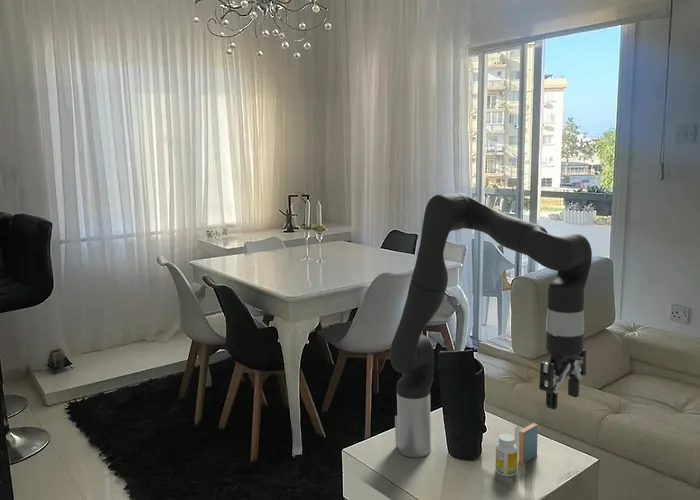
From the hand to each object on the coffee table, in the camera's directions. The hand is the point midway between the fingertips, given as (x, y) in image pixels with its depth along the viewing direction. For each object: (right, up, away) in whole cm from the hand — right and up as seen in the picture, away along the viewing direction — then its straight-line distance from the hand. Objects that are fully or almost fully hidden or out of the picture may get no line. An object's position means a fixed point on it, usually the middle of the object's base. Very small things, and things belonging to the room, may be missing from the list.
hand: (562, 401), depth 124 cm
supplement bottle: (-5, -25, +27) cm, 37 cm away
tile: (+2, -24, +33) cm, 41 cm away
